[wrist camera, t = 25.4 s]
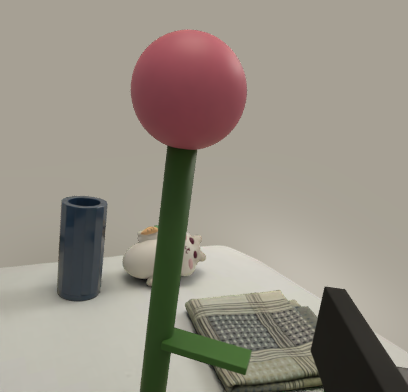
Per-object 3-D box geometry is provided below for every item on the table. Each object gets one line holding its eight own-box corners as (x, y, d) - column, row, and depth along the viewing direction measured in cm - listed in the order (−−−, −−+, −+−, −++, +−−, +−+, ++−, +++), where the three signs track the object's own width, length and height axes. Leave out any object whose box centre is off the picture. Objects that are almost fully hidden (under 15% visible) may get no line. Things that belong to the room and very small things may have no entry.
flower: (69, 604, 22) (113, 10, 15) (114, 517, 27) (163, 37, 20) (189, 666, 20) (306, 26, 13) (214, 561, 25) (309, 51, 18)
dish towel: (224, 401, 40) (229, 375, 39) (182, 310, 57) (185, 290, 56) (368, 383, 46) (375, 360, 45) (293, 305, 62) (296, 287, 62)
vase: (57, 302, 54) (61, 207, 51) (56, 281, 60) (61, 195, 57) (102, 300, 56) (109, 208, 53) (97, 280, 62) (104, 196, 59)
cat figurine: (124, 228, 60) (206, 214, 67) (110, 238, 66) (186, 224, 74) (137, 290, 58) (219, 268, 66) (122, 293, 65) (198, 273, 72)
